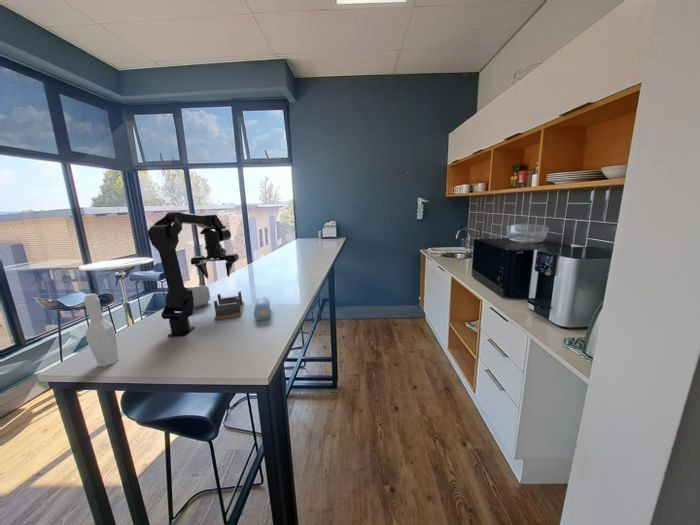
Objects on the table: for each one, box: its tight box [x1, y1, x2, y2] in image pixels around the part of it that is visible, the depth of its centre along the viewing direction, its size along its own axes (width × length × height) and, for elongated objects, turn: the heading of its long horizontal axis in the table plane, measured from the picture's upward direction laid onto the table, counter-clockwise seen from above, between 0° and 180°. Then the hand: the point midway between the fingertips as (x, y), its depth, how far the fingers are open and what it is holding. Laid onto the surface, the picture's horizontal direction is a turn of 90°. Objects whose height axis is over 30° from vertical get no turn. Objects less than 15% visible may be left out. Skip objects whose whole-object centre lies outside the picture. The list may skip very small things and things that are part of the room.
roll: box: [253, 296, 271, 322], centre depth 114 cm, size 12×6×6 cm, turn 17°
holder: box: [213, 290, 245, 321], centre depth 119 cm, size 16×10×7 cm, turn 17°
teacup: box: [187, 284, 211, 309], centre depth 130 cm, size 14×11×8 cm
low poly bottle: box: [83, 293, 119, 367], centre depth 82 cm, size 6×6×22 cm
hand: (218, 277), depth 124 cm, fingers open, 9 cm apart
